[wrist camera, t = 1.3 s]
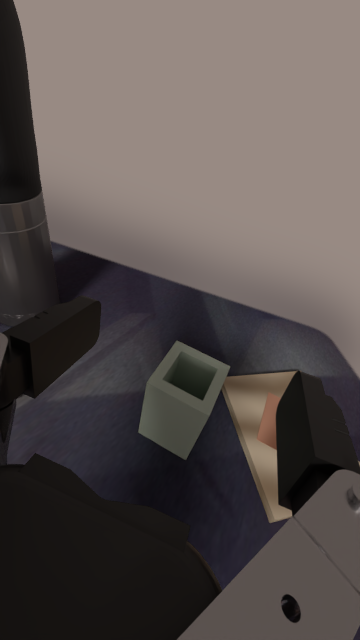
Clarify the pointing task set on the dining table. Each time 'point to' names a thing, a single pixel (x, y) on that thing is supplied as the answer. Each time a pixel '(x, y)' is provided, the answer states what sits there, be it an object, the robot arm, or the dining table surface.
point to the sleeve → (181, 398)
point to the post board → (259, 430)
